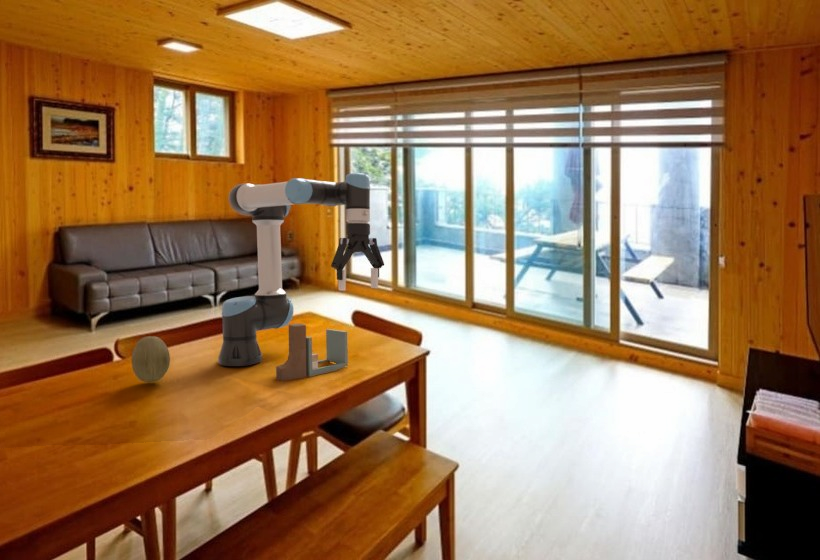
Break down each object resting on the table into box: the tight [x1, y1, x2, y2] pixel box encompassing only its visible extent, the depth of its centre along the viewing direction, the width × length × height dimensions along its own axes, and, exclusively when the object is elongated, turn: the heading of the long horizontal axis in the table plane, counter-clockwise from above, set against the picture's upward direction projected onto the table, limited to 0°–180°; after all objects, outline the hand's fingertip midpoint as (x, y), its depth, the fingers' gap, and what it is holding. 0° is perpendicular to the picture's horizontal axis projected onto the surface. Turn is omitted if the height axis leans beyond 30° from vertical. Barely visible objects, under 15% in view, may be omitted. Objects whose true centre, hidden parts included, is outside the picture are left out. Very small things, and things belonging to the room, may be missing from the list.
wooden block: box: [275, 323, 307, 382], centre depth 182 cm, size 9×4×18 cm, turn 126°
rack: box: [306, 328, 349, 378], centre depth 193 cm, size 10×17×13 cm, turn 139°
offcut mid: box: [312, 360, 319, 368], centre depth 189 cm, size 7×3×2 cm, turn 48°
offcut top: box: [312, 352, 319, 362], centre depth 189 cm, size 6×3×2 cm, turn 48°
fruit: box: [131, 335, 171, 383], centre depth 178 cm, size 11×11×15 cm
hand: (358, 289), depth 177 cm, fingers open, 13 cm apart
